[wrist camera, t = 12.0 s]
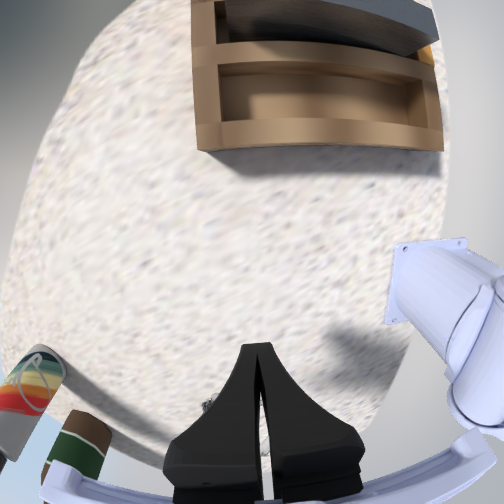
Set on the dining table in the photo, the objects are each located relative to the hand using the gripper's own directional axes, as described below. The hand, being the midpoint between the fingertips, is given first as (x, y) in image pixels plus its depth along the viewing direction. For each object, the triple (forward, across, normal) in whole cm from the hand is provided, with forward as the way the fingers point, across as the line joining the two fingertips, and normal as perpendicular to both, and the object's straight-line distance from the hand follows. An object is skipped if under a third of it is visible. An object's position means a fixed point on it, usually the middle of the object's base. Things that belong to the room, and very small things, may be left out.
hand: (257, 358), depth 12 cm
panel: (+9, -6, -18) cm, 21 cm away
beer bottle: (+10, +26, +23) cm, 36 cm away
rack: (+9, -6, -18) cm, 22 cm away
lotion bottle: (+10, +26, +10) cm, 29 cm away
